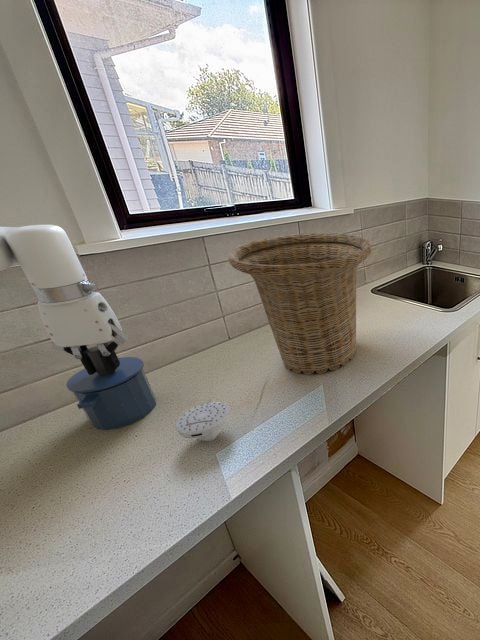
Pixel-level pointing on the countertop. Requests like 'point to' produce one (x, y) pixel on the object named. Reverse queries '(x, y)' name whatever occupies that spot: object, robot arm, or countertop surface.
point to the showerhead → (204, 421)
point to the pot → (118, 403)
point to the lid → (103, 373)
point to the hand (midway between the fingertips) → (104, 369)
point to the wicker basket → (307, 294)
